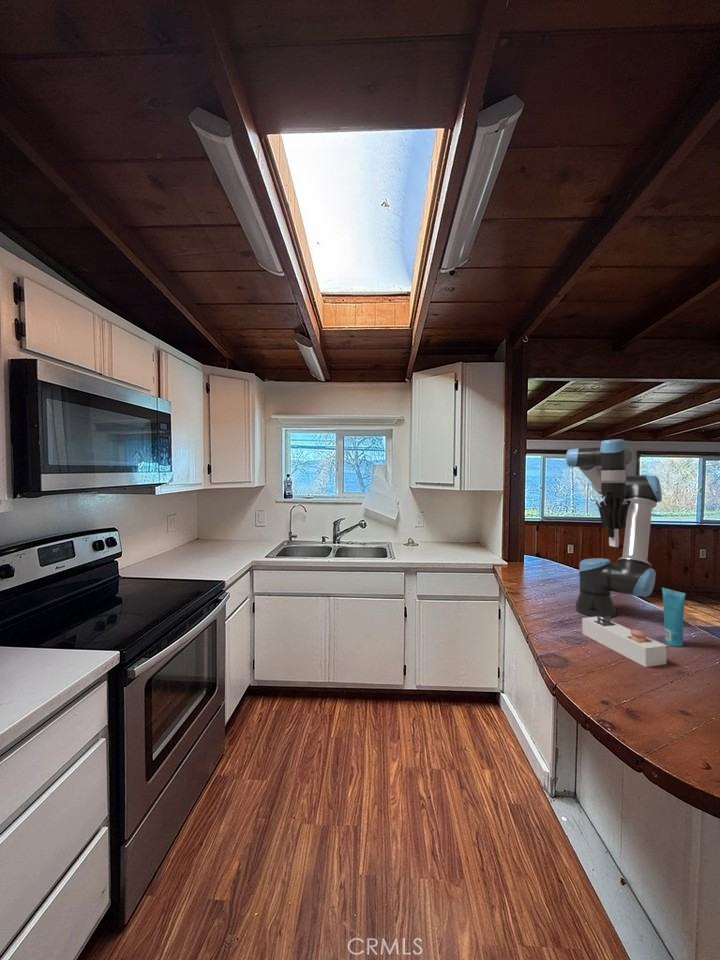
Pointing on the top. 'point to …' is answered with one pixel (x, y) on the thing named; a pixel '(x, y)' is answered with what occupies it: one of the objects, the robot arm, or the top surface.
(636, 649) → the block
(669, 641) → the tube
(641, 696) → the top surface
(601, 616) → the plunger graphite
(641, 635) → the tan rounded peg
